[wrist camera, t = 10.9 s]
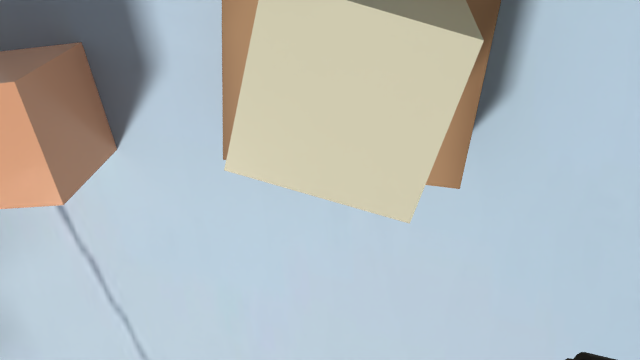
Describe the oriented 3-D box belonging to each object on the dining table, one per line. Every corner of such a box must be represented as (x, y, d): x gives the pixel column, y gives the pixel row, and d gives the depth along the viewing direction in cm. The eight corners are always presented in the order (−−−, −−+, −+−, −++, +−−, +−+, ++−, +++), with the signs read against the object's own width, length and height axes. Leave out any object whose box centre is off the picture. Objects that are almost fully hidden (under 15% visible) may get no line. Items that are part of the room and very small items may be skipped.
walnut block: (245, 122, 29) (222, 159, 25) (247, -106, 24) (221, -100, 20) (452, 147, 28) (459, 188, 24) (499, -83, 23) (516, -72, 20)
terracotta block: (20, 156, 31) (-50, 212, 26) (-23, 53, 28) (-110, 94, 23) (117, 148, 30) (63, 205, 25) (82, 41, 27) (14, 81, 22)
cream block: (298, -55, 21) (263, -25, 15) (463, -6, 21) (483, 40, 15) (263, 100, 24) (224, 170, 18) (408, 142, 24) (409, 223, 18)
